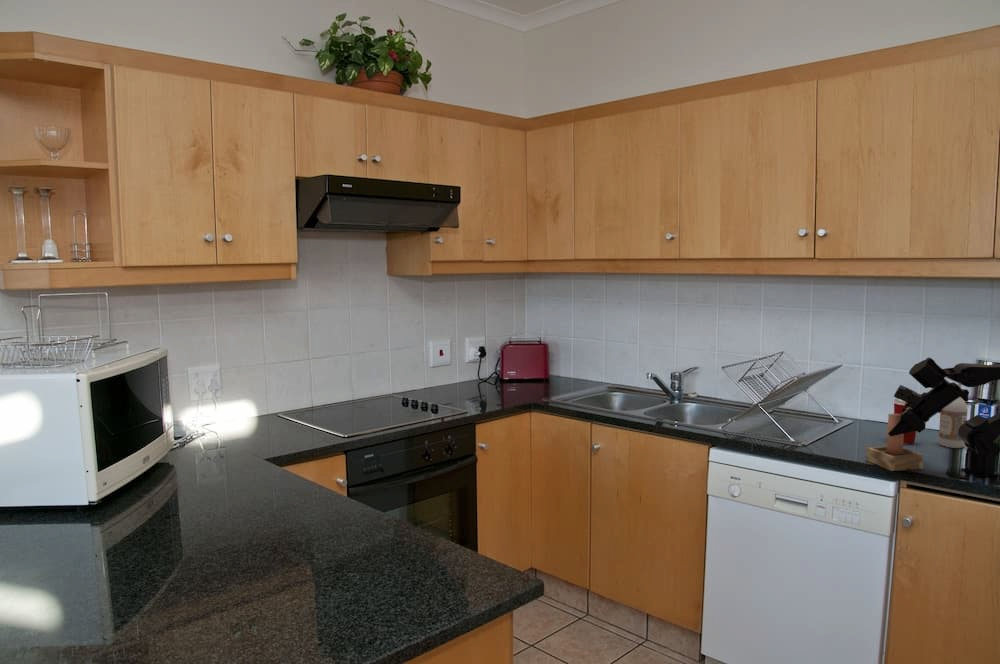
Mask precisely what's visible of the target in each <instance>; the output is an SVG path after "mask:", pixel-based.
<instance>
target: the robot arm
mask: <svg viewBox="0 0 1000 664" xmlns="http://www.w3.org/2000/svg"><path fill="white" fill-rule="evenodd" d="M908 372H909V373H908V375H910V376H911V377H912V378H913V379H915V381H916V382H918V383H919V384H920V385H921V386H922V387H924V389H930V388H931V389H930V390H929V391H927V392H923V393H921V394H920V393H919V392H917V391H915V390H912V389H911V388H909V387H906V386H904V385H902V384H900V385H899V386H898V387H897V389H896V391H895V393H894V395H893V397H894V399H895V398H897V399H901V400H903V401H905V402H906V403H905V406H908V408H907V409H906V408H905V407H903V409H902V413H901V420H900V421H899V422H898V423H897V424H896V426H895V427H894V428H893V429H892V430H891V431H890V432H889V433H888V432H887V435H888V434H889V435H890V436H895V435H899V434H904V433H909V432H913V431H916V433H921V432H923V431H924V430H925V429H926V424H927V423H928V422H929V421H930V419H931V418H932V417H934V416H936V414H940V412H942V409H944V408H945V407H946V406H948V405H949V404H951V403H952V402H953V401H955V400H956V399H958V398H959V397H961V398H962V399H963V400H964V401H965V403H968V402H969V394H970V392H969V390H968V389H964V388H962V387H961V388H960V387H959V386H958V385H957V384H956V383H954V382H957V383H959V384H961V386H964V387H966V388H977V387H979V386H983V385H987V384H989V383H992V382H994V381H998V380H999V381H1000V363H996V364H980V363H965V362H960V363H956V364H955V365H954V367H947V368H942V367H941V366H940V365H938V364H937V363H936V361H935V360H934V359H933V358H932V357H929V356H928V357H927V358H926V359H925V360H921V361H919V362H918V363H915V364H914V365H913V366H911V368H910V370H909V371H908ZM947 379H949V380H951V381H952V383H950V382H949V381H948V380H947ZM963 422H964V424H962V425H961V426H960V427H959V431H958V435H959V437H960V439H961V440H962V441H964V443H965V446H964V447H967V448H966V452H965V459H964V467H962V468H960V471H963V472H965V473H969V474H970V475H973V476H976V477H979V478H985V477H995V476H1000V473H999V472H996V471H995V470H996V459H997V457H998V456H999V454H1000V446H999V445H997V444H996V442H995V441H997V439H998V438H999V437H1000V412H998V413H996V414H994V415H993V416H990V417H986V418H985V417H984V416H981V414H976V415H975V416H973V417H972V418H970V419H967V421H963Z"/></svg>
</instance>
